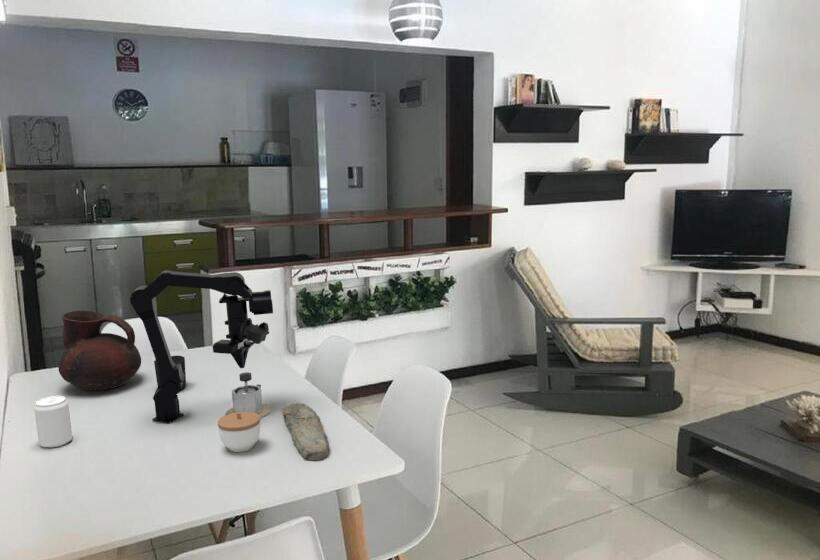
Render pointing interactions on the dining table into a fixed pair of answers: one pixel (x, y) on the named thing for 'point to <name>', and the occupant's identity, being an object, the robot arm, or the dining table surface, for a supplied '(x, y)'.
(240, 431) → the lidded jar
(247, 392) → the dark round knob
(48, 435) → the beverage can
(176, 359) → the pen holder
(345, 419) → the dining table surface
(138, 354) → the jug
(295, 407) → the long grey stone
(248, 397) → the moka pot
